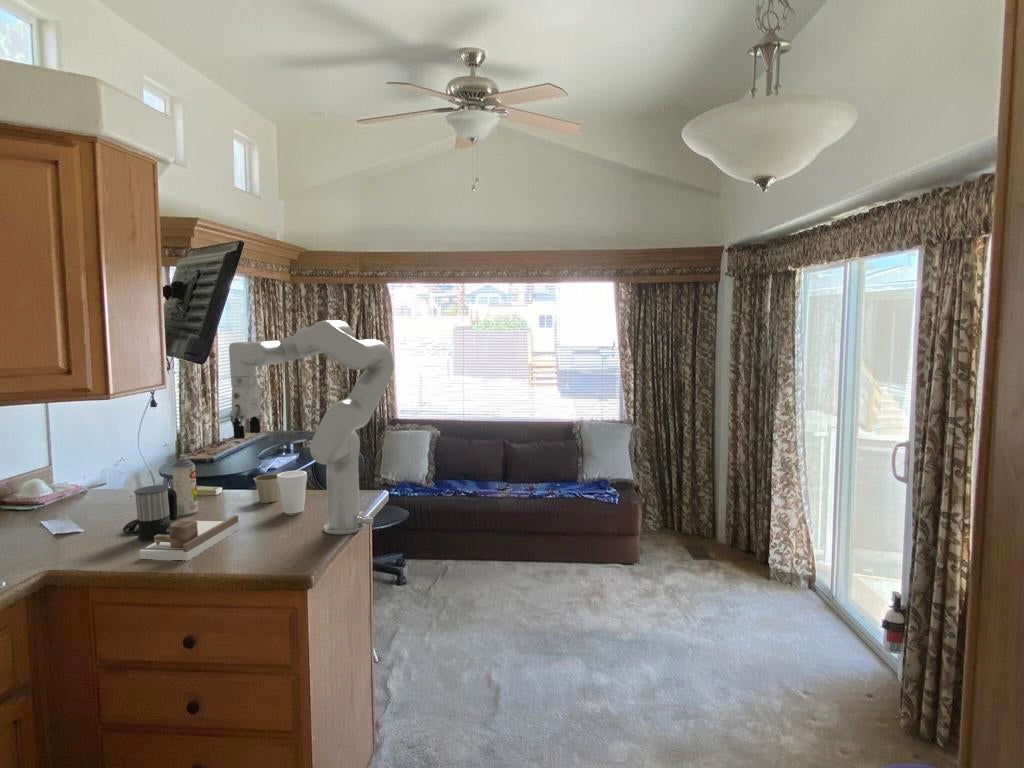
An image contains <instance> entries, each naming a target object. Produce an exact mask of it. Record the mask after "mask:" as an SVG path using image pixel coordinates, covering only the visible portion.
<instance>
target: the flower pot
mask: <svg viewBox="0 0 1024 768" xmlns="http://www.w3.org/2000/svg"><path fill="white" fill-rule="evenodd" d="M278 474H279V473H277V474H272V473H271V474H270V473H269V474H264V475H263V474H262V475H258V476H256V477H253V481H254V483H255V485H256V488H257V489H256V490H257V493H258V494H257V495H258V499H259V502H260V503H262V504H269V503H275V502H278V501H279V494H280V490H279V485H278V482H277V475H278Z"/></svg>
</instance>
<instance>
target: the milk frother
mask: <svg viewBox="0 0 1024 768" xmlns="http://www.w3.org/2000/svg"><path fill="white" fill-rule="evenodd" d="M133 494H135V495H134V496H135V503H136V504H135V505H136V516H137V518H136V519H133V520H131V521H129V522H128V523H126V524H125V525H124V526H123V528H122V532H123V533H124V534H126V535H138V537H137V540H139V541H142V542H154V536H156V535H158V534H159V535H170V533H169V527H170V526H172V525H171V521H173V522H174V521H176V520H177V519H178V516H177V494H176V492H175V490H174V488H171V487H169V486H168V485H164V484H163V485H162V484H157V485H156V484H155V485H148V486H144V487H139V488H137V489H135V490H133ZM137 526H138V527H137ZM136 528H137V529H136Z"/></svg>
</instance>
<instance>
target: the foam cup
mask: <svg viewBox="0 0 1024 768" xmlns="http://www.w3.org/2000/svg"><path fill="white" fill-rule="evenodd" d="M307 473H308V472H307V471H305V470H287V471H283V472H280V473H277V474H278V475H277V482H278V485H279V494H280V500H281V504H282V509H283V512H285V513H297V512H301V511H303V510H304V511H305V502H306V490H307V480H308V474H307ZM304 511H303V512H304ZM285 513H284V514H285Z"/></svg>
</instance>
